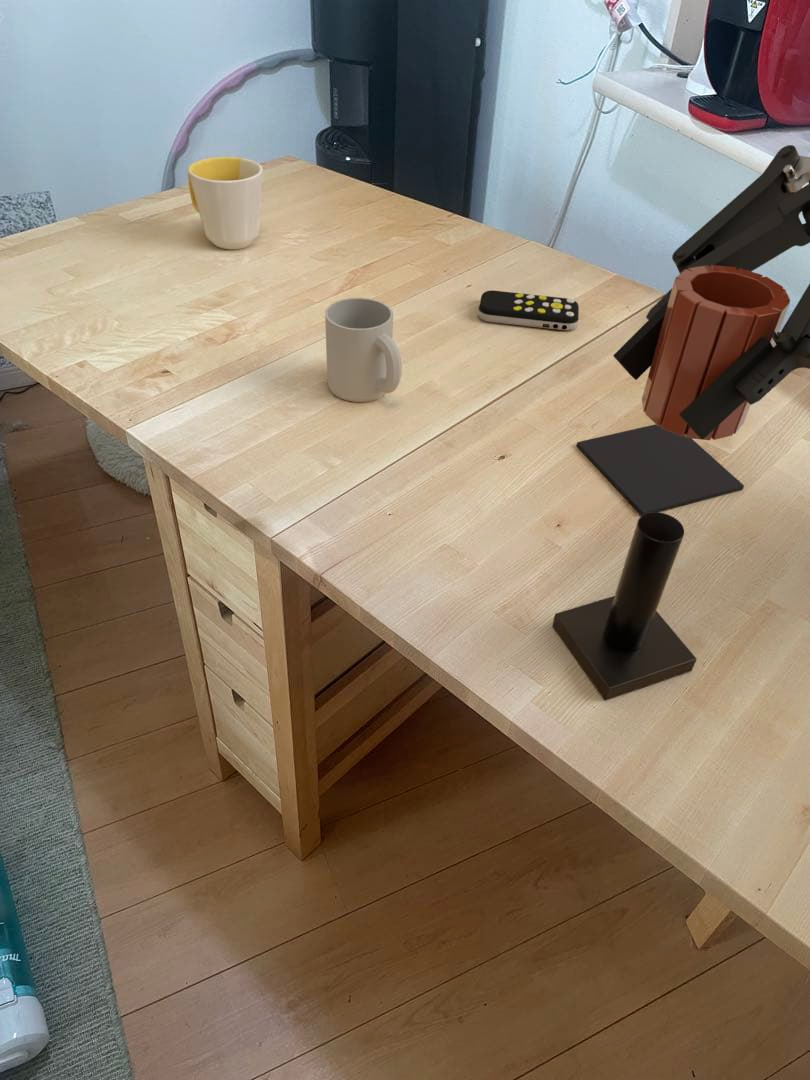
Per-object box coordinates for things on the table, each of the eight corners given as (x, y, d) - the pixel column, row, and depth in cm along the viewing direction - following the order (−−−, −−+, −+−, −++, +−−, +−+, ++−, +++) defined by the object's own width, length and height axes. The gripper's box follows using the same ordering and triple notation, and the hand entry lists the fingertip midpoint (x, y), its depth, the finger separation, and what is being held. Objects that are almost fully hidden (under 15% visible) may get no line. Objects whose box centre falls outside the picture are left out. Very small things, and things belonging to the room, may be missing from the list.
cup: (361, 362, 96) (362, 291, 90) (421, 398, 91) (425, 325, 84) (314, 383, 92) (310, 311, 86) (373, 422, 87) (374, 347, 81)
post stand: (692, 671, 63) (745, 550, 55) (605, 700, 61) (646, 579, 52) (633, 600, 69) (673, 480, 60) (551, 625, 66) (580, 504, 57)
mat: (743, 489, 80) (744, 485, 80) (641, 516, 77) (643, 512, 77) (670, 424, 89) (671, 420, 88) (576, 445, 85) (576, 442, 85)
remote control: (481, 300, 109) (482, 286, 107) (577, 311, 107) (579, 297, 106) (476, 322, 104) (478, 307, 103) (576, 333, 103) (579, 319, 101)
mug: (280, 247, 119) (275, 172, 112) (216, 262, 114) (206, 185, 107) (239, 216, 127) (231, 144, 120) (177, 228, 122) (165, 155, 115)
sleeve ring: (763, 428, 55) (813, 305, 49) (681, 448, 53) (722, 322, 47) (701, 377, 60) (739, 259, 53) (623, 394, 58) (654, 273, 51)
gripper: (1117, 213, 44) (775, 508, 50) (845, 108, 57) (601, 352, 63) (1114, 113, 39) (732, 457, 45) (815, 24, 52) (553, 299, 58)
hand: (656, 395), depth 54 cm, fingers closed on sleeve ring, 7 cm apart
